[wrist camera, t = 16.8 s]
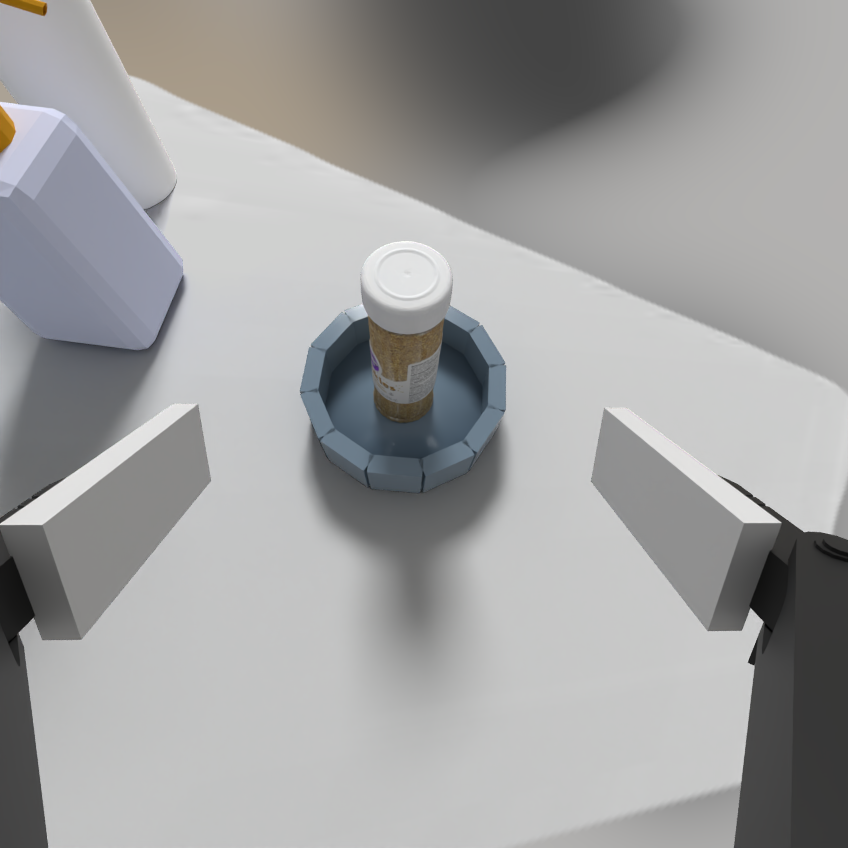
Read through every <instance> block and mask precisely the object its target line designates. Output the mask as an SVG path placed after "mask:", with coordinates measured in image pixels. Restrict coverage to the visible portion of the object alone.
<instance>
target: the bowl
mask: <svg viewBox="0 0 848 848" xmlns="http://www.w3.org/2000/svg"><path fill="white" fill-rule="evenodd" d="M479 324H480V323H479V322H477V321H476V320H474V319H472V318H471V317H469V316H467V315H465V314H464V313H462V312H460V311H459V310H457V309H455V308H453V307H452V306H449V309H448V311H447V313H446V315H445V318H444V324H443V331H442V333H443V336H442V344H441V350H440V356H439V363H438V369H437V375H436V381H435V384H434V387H433V394H434V397H433V403H432V406H431V408H430V410H429V411H428V412H427V413H426V414H425V415H424V416H423V417H421V418H420V419H419V420H416V421H413V422H407V423H399V422H395V421H391V420H390V419H388V418H386V417H385V416H383V415H382V414H381V413H380V412H379V410H378V409H377V408H376V405H375V403H374V396H373V392H374V382H373V377H372V364H371V353H370V342H369V340H370V332H369V325H368V314H367V313H366V311H365V309H364V306H363V304H361V305H358V306H355V307H353V308H350V309H347V310H345V314H344V313H343V312H341V313H340V314H339V315H338V316H337V318H336V319H335V320H334V321H333V322H332V323H331V324H330V325H329V326H328V327H327V328H326V329H325V330H324V331H323V332H322V333H321V334H320V335H319V336H318V337H317V338H316V340H315V341H314V342H313V343H312V344H311V347H309V351H308V355H307V360H306V365H305V369H304V374H303V379H302V383H301V388H300V393H301V394H300V395H301V398H302V400H303V403H304V405H305V407H306V410H307V412H308V415H309V417H310V420H311V422H312V424H313V427H314V429H315V432H316V434H317V437H318V439H319V441H320V443H321V445H322V447H323V450H324V452H325V454H326V456H327V458H329V461H331V462H332V463H334V464H335V465H336V466H338V467H339V468H341V469H342V470H343V471H345V472H346V473H348V474H349V475H351V476H352V477H353V478H355V479H356V480H358V481H359V482H361V483H362V484H363V485H365V486H366V487H369V486H371V489H378V490H389V491H400V492H411V493H420V490H422V491H423V493H424V492H426V491H428V490H430V489H433V488H435V487H437V486H439V485H442V484H444V483H446V482H448V481H450V480H453V479H455V478H457V477H459V476H461V475H464V474H466V473H467V471H470V469H471V468H472V466H473V465H474V463H475V462H476V460H477V459H478V457H479V456H480V454H481V453H482V451H483V450H484V449H485V447H486V446H487V444H488V443H489V441H490V440H491V438H492V437H493V435H494V433H495V431H496V429H497V427H498V425H499V423H500V421H501V419H502V417H503V415H504V412H505V410H506V365H504V364H505V361H504V360H503V358H502V357H501V355H500V353H499V352H498V350H497V349H496V347H495V345H494V344H493V342H492V340H491V339H490V337H489V336H488V334H487V332H486V331H485V329H484V327H483V326H482V325H481V326H479Z"/></svg>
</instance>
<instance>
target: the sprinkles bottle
mask: <svg viewBox="0 0 848 848" xmlns="http://www.w3.org/2000/svg"><path fill="white" fill-rule="evenodd" d="M360 280H361V294H362V302H363V306H364V309H365V311H366V313H367V314H368V325H369V332H370V340H369V342H370V353H371V364H372V377H373V382H374V392H373V396H374V403H375V405H376V408H377V409H378V410H379V412H380V413H381V414H382V415H383V416H385V417H386V418H388V419H390V420H391V421H395V422H399V423H407V422H413V421H416V420H419V419H420V418H421V417H423V416H424V415H425V414H426V413H427V412H428V411H429V410H430V408H431V406H432V403H433V397H434V394H433V387H434V384H435V381H436V375H437V369H438V363H439V356H440V350H441V344H442V336H443V333H442V331H443V324H444V318H445V315H446V313H447V311H448V309H449V306H450V300H451V294H452V285H453V276H452V272H451V269H450V266H449V264H448V262H447V261H446V260H445V258H444V257H443V256H442V255H441V254H440V253H438V252H437V251H436V250H434V249H433V248H431V247H429V246H426V245H424V244H421V243H417V242H410V241H400V242H394V243H390V244H387V245H384V246H382V247H380V248H379V249H377V250H376V251H374V252H373V253H372V254H371V255H370V256H369V257H368V258H367V260H366V261H365V263H364V265H363V268H362V271H361V278H360Z"/></svg>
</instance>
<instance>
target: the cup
mask: <svg viewBox="0 0 848 848" xmlns="http://www.w3.org/2000/svg"><path fill="white" fill-rule="evenodd" d="M39 1H42V2H45V3H47V6H48V7H47V13H46V15H45V16H41V15H38V14H35V13H32V12H28V11H25V10H22V9H19V8H16V7H12V6H9V5H6V4H3V3H0V81H1V82H2V83H3V85H4V86H5V87H6V88H7V90H8V91H9V93H10V94H11V95H12V97H13V98H14V99H15V100H16V102H17V103H18V104H20V105H28V106H36V107H44V108H52V109H55V110H57V111H59V112H62V113H64V114H66V115H67V116H68V117H69V118H70V119H71V120H72V121H73V122H74V123H76V124H77V126H78V127H79V128H80V129H81V131H82V132H83V133H84V134H85V136H86V137H87V138H88V140H89V141H90V142H91V143H92V145H93V146H94V147H95V148H96V150H97V151H98V152H99V154H100V155H101V156H102V157H103V159H104V160H105V161H106V162H107V164H108V165H109V166H110V168H111V169H112V170H113V171H114V173H115V174H116V175H117V176H118V178H119V179H120V180H121V182H122V183H123V184H124V185H125V187H126V188H127V189H128V190H129V192H130V193H131V194H132V196H133V197H134V198H135V199H136V201H137V202H138V203H139V204H140V206H141V207H142V208H143V210H144V209H147V208H150V207H152V206H154V205H156V204H158V203H159V202H161V201H162V200H164V199H165V198H166V197H167V196H168V195H169V194H170V193H171V191H172V190H173V188H174V186H175V184H176V181H177V173H176V169H175V167H174V165H173V163H172V161H171V159H170V157H169V155H168V153H167V151H166V149H165V147H164V145H163V143H162V141H161V139H160V137H159V135H158V133H157V131H156V129H155V127H154V126H153V124H152V122H151V120H150V118H149V116H148V114H147V112H146V110H145V108H144V106H143V104H142V102H141V100H140V98H139V96H138V94H137V92H136V90H135V88H134V86H133V84H132V82H131V80H130V78H129V76H128V74H127V72H126V70H125V69H124V66H123V64H122V62H121V60H120V58H119V56H118V54H117V52H116V50H115V49H114V47H113V45H112V43H111V41H110V39H109V37H108V35H107V33H106V31H105V29H104V27H103V25H102V23H101V21H100V19H99V17H98V15H97V13H96V11H95V9H94V7H93V5H92V3H91V1H90V0H39Z"/></svg>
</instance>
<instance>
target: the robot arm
mask: <svg viewBox="0 0 848 848" xmlns="http://www.w3.org/2000/svg"><path fill="white" fill-rule="evenodd" d="M210 481H211V478H210V472H209V466H208V460H207V454H206V448H205V442H204V436H203V431H202V425H201V419H200V413H199V407H198V404H172V405H171V406H169V407H168V408H166V409H165V410H163V411H162V412H161V413H159V414H158V415H156V416H155V417H153V418H152V419H150V420H149V421H148V422H146V423H145V424H143V425H142V426H140V427H139V428H137V429H136V430H135V431H133V432H132V433H130V434H129V435H127V436H126V437H124V438H123V439H122V440H120V441H119V442H117V443H116V444H114V445H113V446H112V447H110V448H109V449H107V450H106V451H104V452H103V453H101V454H100V455H99V456H97V457H96V458H94V459H93V460H91V461H90V462H88V463H87V464H86V465H84V466H83V467H81V468H80V469H78V470H77V471H75V472H74V473H73V474H71V475H70V476H68V477H66V478H64V479H61V480H59V481H57V482H54V483H52V484H50V485H48V486H47V487H45V488H44V489H42V490H41V491H39V492H38V493H36V494H35V495H33V496H32V499H28V500H26V501H25V502H23V503H22V504H20V505H19V506H18V508H17V509H13V510H11V511H10V512H8V513H7V514H6V515H4V516H3V517H1V518H0V848H48V841H47V833H46V825H45V817H44V808H43V800H42V792H41V784H40V776H39V767H38V759H37V751H36V743H35V735H34V726H33V718H32V710H31V702H30V694H29V685H28V677H27V669H26V661H25V653H24V646H23V644H22V641H21V639H20V636H19V634H18V633H19V632H20V631H21V630H22V629H23V628H24V627H25V626H26V625H27V624H28V623H29V622H30V620H31V619H32V618H33V617H34V619H35V622H36V625H37V627H38V630H39V632H40V635H41V638H42V640H82V638H83V637H84V636H85V635H86V633H87V632H88V631H89V630H90V629H91V627H92V626H93V625H94V624H95V622H96V621H97V620H98V619H99V617H100V616H101V615H102V614H103V613H104V611H105V610H106V609H107V608H108V606H109V605H110V604H111V603H112V602H113V600H114V599H115V598H116V597H117V595H118V594H119V593H120V592H121V591H122V589H123V588H124V587H125V586H126V584H127V583H128V582H129V581H130V579H131V578H132V577H133V576H134V575H135V573H136V572H137V571H138V570H139V568H140V567H141V566H142V565H143V564H144V562H145V561H146V560H147V559H148V557H149V556H150V555H151V554H152V552H153V551H154V550H155V549H156V548H157V546H158V545H159V544H160V543H161V541H162V540H163V539H164V538H165V537H166V535H167V534H168V533H169V532H170V530H171V529H172V528H173V527H174V526H175V524H176V523H177V522H178V521H179V519H180V518H181V517H182V516H183V514H184V513H185V512H186V511H187V510H188V508H189V507H190V506H191V505H192V503H193V502H194V501H195V500H196V499H197V497H198V496H199V495H200V494H201V492H202V491H203V490H204V489H205V487H206V486H207V485H208V484H209V483H210ZM591 482H592V483H593V485H594V486H595V487H596V489H597V490H598V491H599V492H600V494H601V495H602V496H603V498H604V499H605V500H606V501H607V503H608V504H609V505H610V507H611V508H612V509H613V510H614V512H615V513H616V514H617V515H618V517H619V518H620V519H621V521H622V522H623V523H624V524H625V526H626V527H627V528H628V530H629V531H630V532H631V533H632V535H633V536H634V537H635V539H636V540H637V541H638V542H639V544H640V545H641V546H642V548H643V549H644V550H645V551H646V553H647V554H648V555H649V556H650V558H651V559H652V560H653V562H654V563H655V564H656V565H657V567H658V568H659V569H660V571H661V572H662V573H663V574H664V576H665V577H666V578H667V580H668V581H669V582H670V583H671V585H672V586H673V587H674V589H675V590H676V591H677V592H678V594H679V595H680V596H681V597H682V599H683V600H684V601H685V603H686V604H687V605H688V606H689V608H690V609H691V610H692V612H693V613H694V614H695V615H696V617H697V618H698V619H699V621H700V622H701V623H702V624H703V626H704V627H705V628H706V630H707V631H742V629H743V626H744V624H745V621H746V618H747V616H748V613H749V610H750V608H751V609H752V610H753V611H754V612H755V613H756V614H757V615H758V616H759V617H760V618H761V619H762V620H763V621H764V623H763V625H762V628H761V630H760V633H759V635H758V638H757V640H756V643H755V646H754V648H753V651H752V653H751V656H750V658H749V661H748V663H750V664H752V665H755V669H754V678H753V686H752V695H751V704H750V713H749V721H748V730H747V739H746V747H745V756H744V765H743V773H742V782H741V791H740V800H739V808H738V818H737V826H736V835H735V844H734V848H848V540H846V539H843V538H841V537H838V536H835V535H830V534H826V533H821V532H805V533H804V532H803V531H802V530H800V529H799V528H797V527H796V526H795V525H793V524H792V523H791V522H789V521H788V520H786V519H785V518H784V517H782V516H781V515H780V514H778V513H777V512H775V511H774V510H773V509H771V508H770V507H768V506H765V504H764V503H763V502H762V501H760V500H759V499H757V498H756V497H753V495H752V494H751V493H749V492H748V491H746V490H745V489H744V488H742V487H741V486H739V485H738V484H736V483H734V482H732V481H730V480H728V479H725V478H723V477H721V476H719V475H717V474H715V473H714V472H713V471H711V470H710V469H709V468H707V467H706V466H705V465H703V464H702V463H701V462H699V461H698V460H696V459H695V458H694V457H692V456H691V455H690V454H688V453H687V452H686V451H684V450H683V449H682V448H680V447H679V446H678V445H676V444H675V443H674V442H672V441H671V440H670V439H668V438H667V437H665V436H664V435H663V434H661V433H660V432H659V431H657V430H656V429H655V428H653V427H652V426H651V425H649V424H648V423H647V422H645V421H644V420H643V419H641V418H640V417H639V416H637V415H636V414H635V413H633V412H632V411H630V410H629V409H628V408H604V412H603V417H602V423H601V428H600V434H599V439H598V445H597V450H596V456H595V461H594V467H593V472H592V478H591Z"/></svg>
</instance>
